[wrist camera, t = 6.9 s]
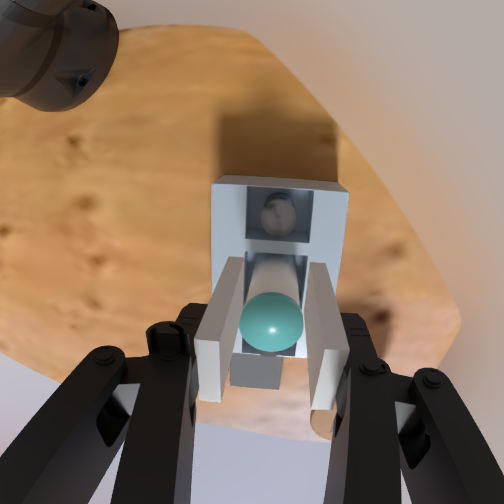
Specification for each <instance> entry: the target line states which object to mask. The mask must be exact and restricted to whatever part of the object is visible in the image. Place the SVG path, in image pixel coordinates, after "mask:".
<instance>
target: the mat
mask: <svg viewBox="0 0 504 504" xmlns="http://www.w3.org/2000/svg"><path fill="white" fill-rule="evenodd" d="M282 363H283V357H282V356H274V357H265V356H262V355H255V354H243V353H232V357H231V362H230V385H231V386H240V387H251V388H263V389H277V390H279V386H280V378H281V371H282Z"/></svg>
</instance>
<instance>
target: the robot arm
mask: <svg viewBox="0 0 504 504" xmlns="http://www.w3.org/2000/svg"><path fill="white" fill-rule="evenodd" d="M117 46H118V28H117V24H116V21H115V19H114V17H113V15H112V14H111V13H110V11H109V10H108V9H107V8H105V7H104V6H102V5H100V4H98V3H97V2H95V1H92V0H0V98H2V97H14V98H16V99H18V100H20V101H22V102H23V103H25V104H27V105H29V106H31V107H33V108H35V109H37V110H40V111H45V112H62V111H67V110H70V109H73V108H75V107H77V106H79V105H80V104H82V103H83V102H85V101H86V100H87V99H88V98H89V97H91V96H92V95H93V94H94V93H95V91H96V90H97V89H98V88H99V87H100V85H101V84H102V83H103V81H104V80H105V78H106V76H107V75H108V73H109V71H110V69H111V67H112V64H113V62H114V59H115V56H116V52H117ZM244 259H245V257H232V256H229V257H228V259H227V261H226V264H225V266H224V268H223V271H222V273H221V275H220V278H219V280H218V282H217V285H216V287H215V290H214V292H213V294H212V297H211V299H210V301H209V304H199V303H189V304H188V305H187V306H185V307H184V308H182V310H181V312H180V314H179V316H178V318H177V319H176V321H175V322H173V321H163V322H159V323H156V324H154V325H152V326H150V327H149V328H148V329H147V331H146V338H147V343H148V349H149V355H147V356H143V357H127V358H125V354H124V352H123V351H122V350H121V349H120V348H118V347H116V346H109V345H108V346H101V347H98V348H95V349H94V350H92V351H91V352H90V353H89V354H88V355H87V356H86V357H85V358H84V359H83V360H82V361H81V362H80V364H79V365H78V366H77V367H76V368H75V369H74V370H73V371H72V372H71V374H70V375H69V376H68V377H67V378H66V379H65V380H64V381H63V383H62V384H61V385H60V386H59V387H58V388H57V390H56V391H55V392H54V393H53V394H52V395H51V396H50V398H49V399H48V400H47V401H46V402H45V403H44V405H43V406H42V407H41V408H40V409H39V411H38V412H37V413H36V414H35V415H34V416H33V417H32V419H31V420H30V421H29V422H28V424H27V425H26V426H25V427H24V428H23V430H22V431H21V432H20V433H19V434H18V436H17V437H16V438H15V439H14V440H13V442H12V443H11V444H10V445H9V447H8V448H7V449H6V451H5V452H4V453H3V454H2V455H1V457H0V504H88V502H89V501H90V499H91V497H92V495H93V494H94V492H95V490H96V488H97V487H98V485H99V483H100V481H101V480H102V478H103V476H104V475H105V473H106V471H107V469H108V468H109V466H110V464H111V463H112V461H113V459H114V457H115V455H116V454H117V452H118V450H119V449H120V447H121V445H122V443H123V442H124V440H125V442H124V446H123V450H122V454H121V458H120V462H119V467H118V471H117V475H116V480H115V484H114V489H113V494H112V499H111V503H110V504H190V498H191V479H192V462H193V448H194V434H195V421H196V402H195V400H196V397H197V394H198V391H199V400H203V401H211V402H218V403H221V401H222V396H223V392H224V388H225V383H226V379H227V375H228V370H229V366H230V362H231V357H232V353H233V349H234V344H235V340H236V336H237V331H238V327H239V323H240V318H241V314H242V309H243V291H244ZM304 322H305V333H306V345H307V358H308V372H309V386H310V402H311V410H333V407H334V403H335V400H336V406H337V412H336V415H335V418H334V421H333V424H332V426H331V429H330V432H329V433H333V434H332V444H331V453H330V462H329V469H328V476H327V484H326V490H325V498H324V503H323V504H401V471H402V474H403V477H404V480H405V483H406V486H407V489H408V492H409V495H410V499H411V502H412V504H504V475H503V473H502V471H501V469H500V467H499V465H498V463H497V461H496V459H495V457H494V455H493V454H492V452H491V450H490V448H489V446H488V444H487V442H486V441H485V439H484V437H483V435H482V433H481V432H480V430H479V428H478V426H477V425H476V423H475V421H474V420H473V418H472V416H471V414H470V412H469V411H468V409H467V407H466V406H465V404H464V402H463V401H462V399H461V397H460V396H459V394H458V393H457V391H456V389H455V388H454V386H453V384H452V383H451V381H450V380H449V378H448V377H447V376H446V375H445V374H444V373H443V372H441V371H439V370H437V369H434V368H422V369H419V370H418V371H417V372H415V374H414V376H413V377H408V376H403V375H398V374H395V373H392V372H391V370H390V367H389V365H388V364H387V363H386V362H385V361H384V360H382V359H380V358H378V357H377V354H376V351H375V348H374V345H373V342H372V340H371V337H370V334H369V331H368V330H367V326H366V323H365V321H364V320H363V319H362V318H361V317H360V316H359V315H358V314H355V313H340V311H339V308H338V304H337V300H336V297H335V293H334V290H333V286H332V283H331V279H330V276H329V273H328V269H327V266H326V263H318V262H310V265H309V273H308V281H307V289H306V297H305V305H304Z"/></svg>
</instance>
